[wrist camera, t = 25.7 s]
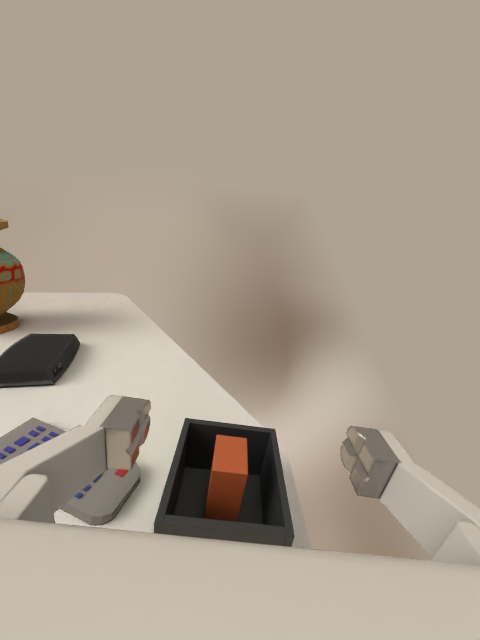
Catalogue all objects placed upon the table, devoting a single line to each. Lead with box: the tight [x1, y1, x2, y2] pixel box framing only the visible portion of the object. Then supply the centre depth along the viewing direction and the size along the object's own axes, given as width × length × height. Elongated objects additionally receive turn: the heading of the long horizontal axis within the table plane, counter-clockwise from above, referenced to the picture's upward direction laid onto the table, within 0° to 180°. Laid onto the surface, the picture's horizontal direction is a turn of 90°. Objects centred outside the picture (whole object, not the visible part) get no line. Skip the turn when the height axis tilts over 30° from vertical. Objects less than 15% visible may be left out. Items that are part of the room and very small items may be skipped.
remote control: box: [0, 418, 140, 525], centre depth 35 cm, size 8×23×2 cm, turn 73°
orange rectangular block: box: [204, 435, 248, 522], centre depth 30 cm, size 4×5×11 cm
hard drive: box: [0, 334, 80, 386], centre depth 57 cm, size 13×19×4 cm
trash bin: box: [154, 418, 294, 547], centre depth 31 cm, size 14×14×10 cm
